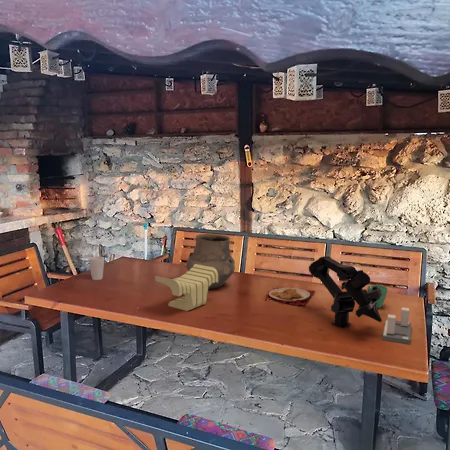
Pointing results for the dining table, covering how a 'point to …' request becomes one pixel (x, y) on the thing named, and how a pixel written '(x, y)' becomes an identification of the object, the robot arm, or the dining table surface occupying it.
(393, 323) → the block
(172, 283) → the slatted curved stool
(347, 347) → the dining table surface
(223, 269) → the ceramic pot
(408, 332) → the switch block
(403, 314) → the switch tab
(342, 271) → the robot arm
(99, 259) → the foam cup
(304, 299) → the plate with food
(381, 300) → the mug
